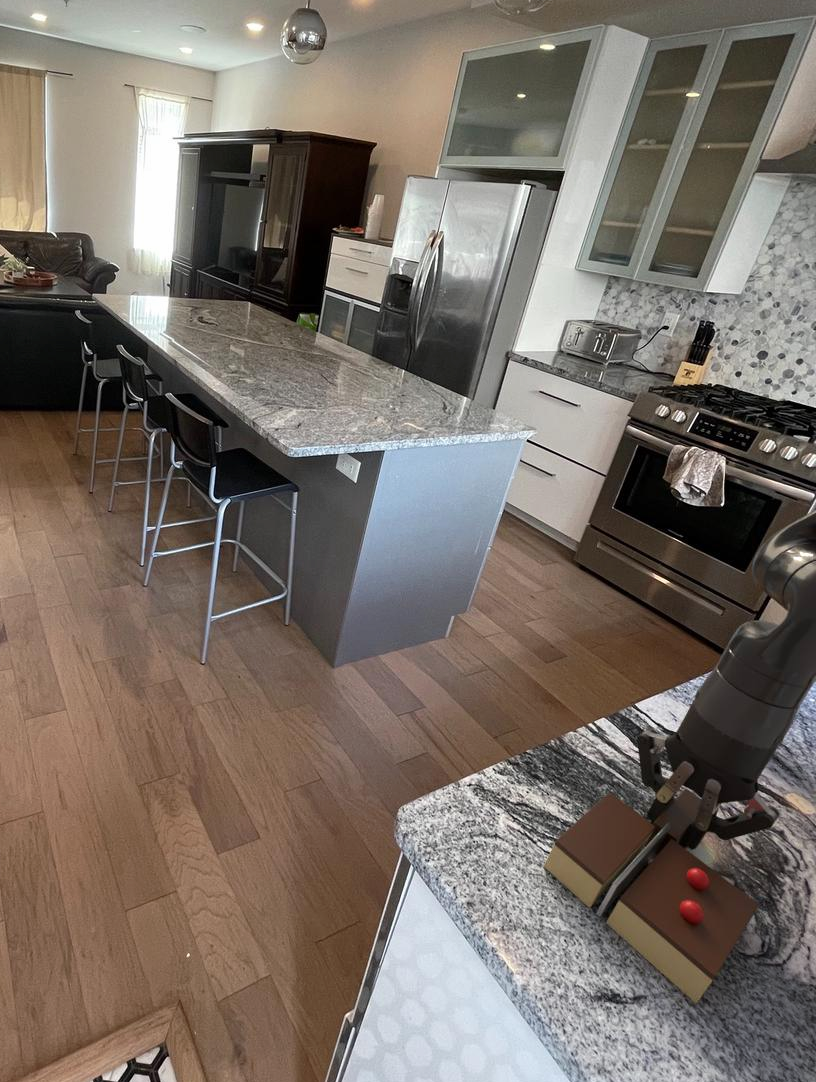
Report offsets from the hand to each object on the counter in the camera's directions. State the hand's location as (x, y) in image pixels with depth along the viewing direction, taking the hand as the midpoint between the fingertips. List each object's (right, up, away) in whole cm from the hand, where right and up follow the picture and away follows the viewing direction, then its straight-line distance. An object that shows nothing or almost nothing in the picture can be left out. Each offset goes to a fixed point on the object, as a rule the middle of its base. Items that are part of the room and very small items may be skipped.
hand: (669, 833), depth 71 cm
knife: (-5, -1, -4) cm, 7 cm away
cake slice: (-11, -1, -4) cm, 11 cm away
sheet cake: (-6, -4, -10) cm, 12 cm away
